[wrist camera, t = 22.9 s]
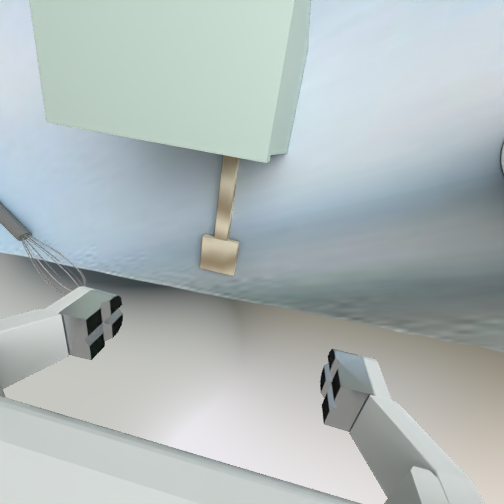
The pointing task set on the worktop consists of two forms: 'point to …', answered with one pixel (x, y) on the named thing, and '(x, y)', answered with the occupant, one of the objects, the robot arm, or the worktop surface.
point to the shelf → (175, 70)
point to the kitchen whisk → (25, 237)
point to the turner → (222, 225)
